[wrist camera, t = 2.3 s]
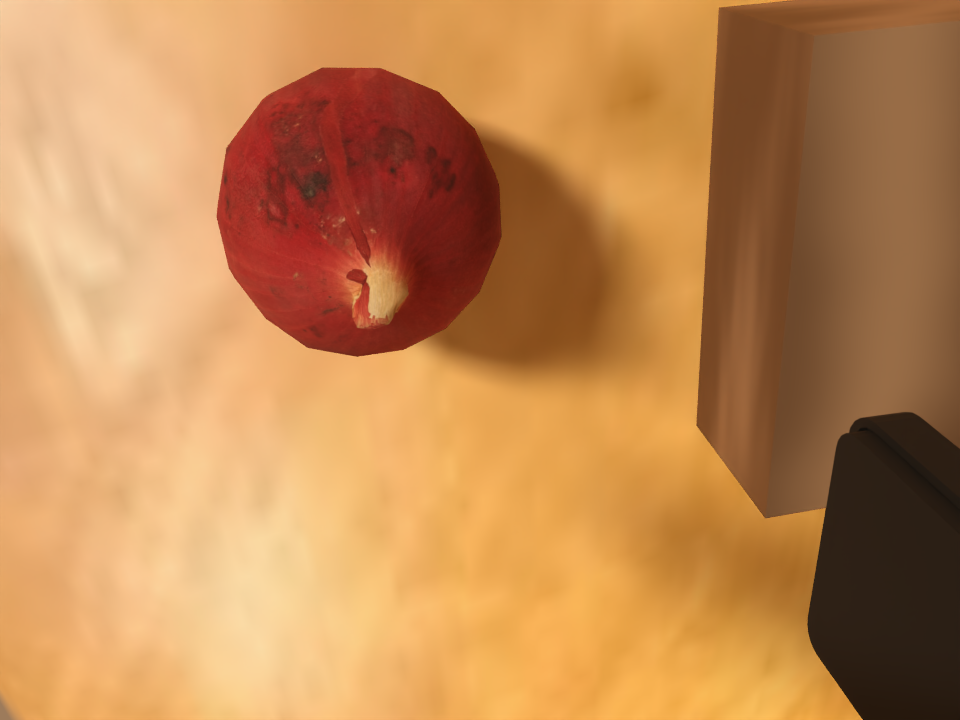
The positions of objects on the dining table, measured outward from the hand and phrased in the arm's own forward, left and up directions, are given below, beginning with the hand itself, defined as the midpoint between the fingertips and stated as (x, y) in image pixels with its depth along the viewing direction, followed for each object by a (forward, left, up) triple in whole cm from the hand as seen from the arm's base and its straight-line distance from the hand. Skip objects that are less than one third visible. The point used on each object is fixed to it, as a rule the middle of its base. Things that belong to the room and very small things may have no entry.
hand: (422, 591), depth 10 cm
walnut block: (-12, +10, -15) cm, 22 cm away
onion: (0, 0, -15) cm, 15 cm away
